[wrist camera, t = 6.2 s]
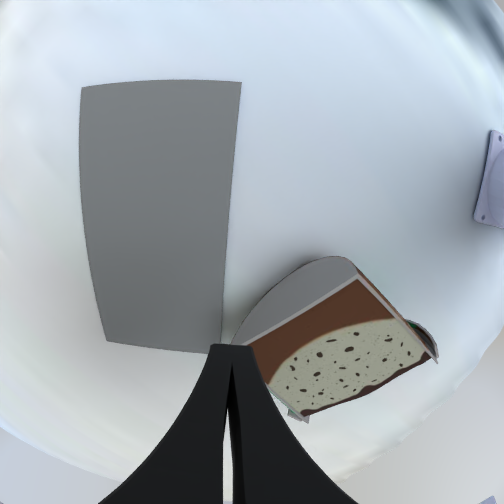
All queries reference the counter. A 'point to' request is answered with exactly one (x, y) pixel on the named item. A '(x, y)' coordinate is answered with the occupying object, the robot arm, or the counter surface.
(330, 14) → the counter surface
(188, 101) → the mat
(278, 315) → the food container
